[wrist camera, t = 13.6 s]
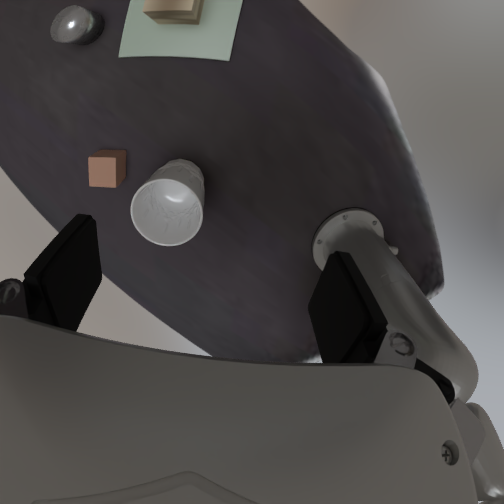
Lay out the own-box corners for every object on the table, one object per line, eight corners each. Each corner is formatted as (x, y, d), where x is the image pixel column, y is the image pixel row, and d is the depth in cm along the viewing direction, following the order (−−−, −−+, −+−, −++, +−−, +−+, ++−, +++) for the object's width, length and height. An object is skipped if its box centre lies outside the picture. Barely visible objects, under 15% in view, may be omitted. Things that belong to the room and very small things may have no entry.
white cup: (167, 144, 33) (146, 166, 25) (219, 170, 36) (216, 200, 27) (144, 193, 36) (121, 228, 28) (192, 216, 39) (183, 256, 31)
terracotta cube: (126, 150, 33) (115, 157, 29) (125, 177, 35) (116, 187, 32) (100, 149, 32) (88, 157, 29) (101, 176, 34) (89, 186, 31)
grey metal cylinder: (107, 10, 21) (88, 1, 16) (101, 42, 23) (80, 38, 18) (77, 16, 20) (55, 10, 15) (70, 47, 23) (47, 45, 18)
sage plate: (249, -28, 20) (250, -31, 19) (229, 61, 27) (229, 60, 27) (142, -30, 18) (140, -33, 17) (121, 57, 25) (118, 57, 24)
